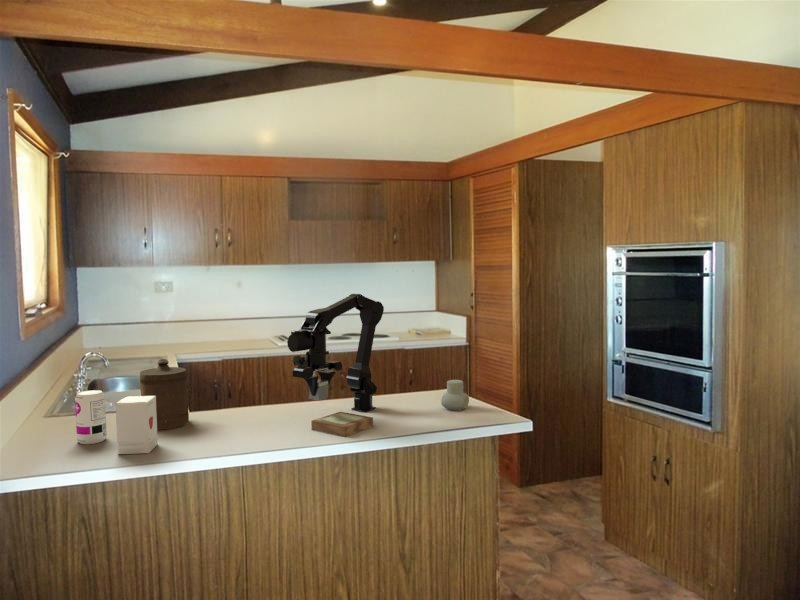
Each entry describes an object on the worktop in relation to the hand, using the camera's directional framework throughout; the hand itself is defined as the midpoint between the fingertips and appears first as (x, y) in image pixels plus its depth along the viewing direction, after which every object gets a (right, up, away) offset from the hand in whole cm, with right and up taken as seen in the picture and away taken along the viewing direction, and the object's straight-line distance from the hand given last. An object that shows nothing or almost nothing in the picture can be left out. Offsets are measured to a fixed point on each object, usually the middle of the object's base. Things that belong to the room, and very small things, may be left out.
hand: (318, 394), depth 215 cm
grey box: (0, -1, 0) cm, 1 cm away
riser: (+9, -10, -9) cm, 16 cm away
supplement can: (-67, -12, -20) cm, 71 cm away
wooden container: (-51, -10, -2) cm, 52 cm away
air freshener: (+47, -8, +15) cm, 50 cm away
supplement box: (-49, -12, -29) cm, 58 cm away
